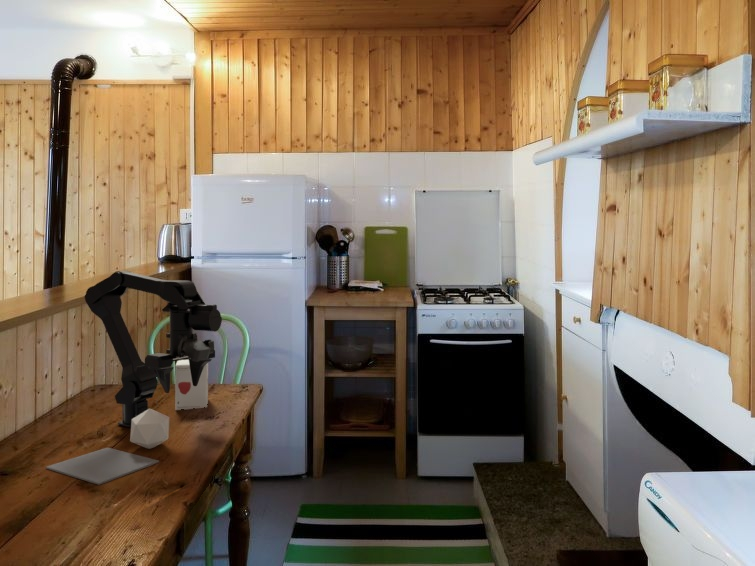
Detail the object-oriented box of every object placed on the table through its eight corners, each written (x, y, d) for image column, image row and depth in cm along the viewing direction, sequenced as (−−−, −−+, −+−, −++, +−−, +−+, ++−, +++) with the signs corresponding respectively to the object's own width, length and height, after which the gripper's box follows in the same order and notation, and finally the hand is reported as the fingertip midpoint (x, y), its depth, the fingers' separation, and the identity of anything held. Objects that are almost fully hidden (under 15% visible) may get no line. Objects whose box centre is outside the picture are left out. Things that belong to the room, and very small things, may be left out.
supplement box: (174, 417, 170) (174, 365, 170) (177, 409, 179) (176, 359, 178) (207, 415, 173) (207, 363, 172) (208, 407, 181) (208, 358, 181)
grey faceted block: (177, 446, 145) (176, 405, 144) (150, 458, 137) (150, 414, 136) (149, 442, 148) (149, 402, 148) (122, 453, 140) (121, 410, 139)
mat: (46, 468, 129) (45, 466, 129) (107, 448, 142) (107, 447, 142) (99, 484, 121) (98, 483, 120) (159, 462, 134) (159, 460, 134)
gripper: (174, 336, 142) (174, 401, 143) (230, 328, 158) (230, 386, 159) (143, 332, 147) (143, 395, 148) (200, 325, 164) (200, 381, 164)
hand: (181, 389), depth 155 cm, fingers open, 9 cm apart
